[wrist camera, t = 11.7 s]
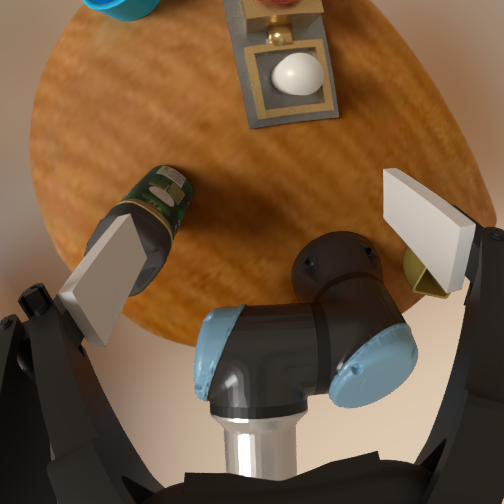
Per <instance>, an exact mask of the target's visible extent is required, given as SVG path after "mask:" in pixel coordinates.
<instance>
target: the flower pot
mask: <svg viewBox="0 0 504 504" xmlns="http://www.w3.org/2000/svg"><path fill="white" fill-rule="evenodd" d="M403 270H404V274H405V276H406V278H407V281H408V283H409V285H410V288H411V290H412V292H414V293H418V294H423V295H428V296H433V297H438V298H444V299H446V298H448V296H449V295H450V293H451V292H450V293H446V292H445V291H444V289H443V288H442V287H441V285H440V284H439V283H438V281H437V280H436V279H435V278H434V276H433V275H432V274H431V273H430V271H429V270H428V269H427V268H426V266H425V265H424V264H423V263H422V262H421V260H420V259H419V258H418V257H417V256H416V254H415V253H414V252H413V251H412V250H411V248H410V247H409V246H408V247H407V249H406V251H405V253H404V257H403Z"/></svg>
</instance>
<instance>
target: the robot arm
mask: <svg viewBox="0 0 504 504" xmlns="http://www.w3.org/2000/svg"><path fill="white" fill-rule="evenodd" d="M383 185H384V214H383V218H384V219H385V220H386V221H387V223H388V224H389V225H390V226H391V227H392V228H393V229H394V230H395V231H396V232H397V234H398V235H399V236H400V237H401V238H402V239H403V240H404V242H405V243H406V244H407V245H408V246H409V247H410V248H411V250H412V251H413V252H414V253H415V254H416V256H417V257H418V258H419V259H420V260H421V262H422V263H423V264H424V265H425V266H426V268H427V269H428V270H429V271H430V273H431V274H432V275H433V276H434V278H435V279H436V280H437V281H438V283H439V284H440V285H441V287H442V288H443V289H444V291H445V292H446V293H450V292H454V291H457V290H460V289H462V286H463V282H464V278H465V276H466V277H467V278H468V279H469V280H470V285H469V289H468V292H467V295H466V299H465V302H464V305H465V306H466V307H465V314H464V319H463V324H462V329H461V334H460V339H459V343H458V348H457V352H456V356H455V360H454V364H453V368H452V371H451V374H450V378H449V381H448V385H447V388H446V391H445V394H444V397H443V400H442V403H441V406H440V409H439V412H438V414H437V417H436V420H435V423H434V425H433V428H432V430H431V433H430V435H429V437H428V440H427V442H426V444H425V446H424V447H423V449H422V451H421V452H420V454H419V456H418V457H417V459H416V461H415V463H414V464H412V463H408V462H403V461H397V460H380V459H379V454H378V451H375V452H372V453H368V454H364V455H360V456H356V457H351V458H348V459H343V460H338V461H333V462H330V463H327V464H325V465H322V466H320V467H318V468H315V469H313V470H311V471H308V472H305V473H302V474H300V475H297V468H296V467H297V465H296V427H295V426H296V424H297V422H298V421H299V420H300V419H301V418H302V417H303V416H304V415H305V414H306V413H307V411H308V406H307V397H308V396H310V395H318V394H328V393H329V397H330V399H331V400H332V401H333V403H334V404H336V405H337V406H339V407H342V406H343V407H344V408H357V407H361V406H365V405H368V404H371V403H373V402H375V401H378V400H380V399H382V398H383V397H385V396H387V395H388V394H390V393H391V392H393V391H394V390H395V389H397V388H398V387H399V386H400V385H401V384H402V383H403V382H404V381H405V380H406V379H407V378H408V377H409V375H410V374H411V373H412V371H413V369H414V367H415V365H416V362H417V359H418V349H417V345H416V343H415V340H414V338H413V336H412V333H411V329H410V327H409V326H408V325H407V323H406V321H405V320H404V318H403V316H402V314H401V313H400V311H399V309H398V308H397V306H396V304H395V302H394V301H393V299H392V297H391V296H390V294H389V292H388V291H387V289H386V287H385V286H384V284H383V277H382V268H381V262H380V258H379V256H378V254H377V252H376V251H375V249H374V248H373V246H372V245H371V244H370V242H369V241H368V240H366V239H365V238H364V237H362V236H360V235H358V234H355V233H352V232H342V231H341V232H332V233H328V234H325V235H323V236H320V237H318V238H316V239H315V240H313V241H312V242H310V243H309V244H308V245H307V246H305V247H304V248H303V250H302V251H301V252H300V253H299V255H298V256H297V258H296V260H295V262H294V265H293V268H292V283H293V288H294V292H295V294H296V296H297V298H298V300H299V301H300V302H301V303H294V304H278V305H253V306H247V304H242V305H241V306H233V307H221V308H216V309H213V310H212V311H210V312H209V313H208V314H207V316H206V317H205V319H204V321H203V323H202V326H201V329H200V332H199V336H198V341H197V346H196V353H195V361H194V382H195V393H196V395H197V397H198V398H199V399H202V400H204V401H210V414H211V416H212V417H213V418H214V419H215V420H216V421H217V422H218V423H220V424H221V425H222V427H223V428H224V441H225V459H226V473H185V477H184V482H183V483H179V484H176V485H172V486H169V487H167V488H164V487H163V486H162V485H161V484H160V483H159V482H158V481H157V480H156V479H155V478H154V477H153V476H152V474H151V473H150V472H149V470H148V469H147V467H146V466H145V464H144V463H143V461H142V460H141V458H140V456H139V455H138V453H137V452H136V450H135V448H134V447H133V445H132V443H131V442H130V440H129V438H128V437H127V435H126V433H125V431H124V430H123V428H122V426H121V424H120V422H119V421H118V419H117V417H116V415H115V413H114V411H113V409H112V407H111V405H110V403H109V401H108V399H107V397H106V395H105V393H104V391H103V389H102V387H101V385H100V383H99V381H98V379H97V376H96V374H95V372H94V370H93V367H92V365H91V362H90V360H89V358H88V355H87V353H86V351H85V349H84V348H83V346H82V345H81V342H82V340H83V338H84V337H85V339H86V340H87V342H88V343H89V344H90V346H91V347H106V346H107V343H108V341H109V338H110V336H111V334H112V331H113V329H114V327H115V324H116V322H117V320H118V318H119V316H120V313H121V311H122V309H123V307H124V305H125V302H126V300H127V298H128V296H129V294H130V292H131V290H132V288H133V285H134V283H135V281H136V279H137V277H138V275H139V273H140V271H141V269H142V267H143V265H144V263H145V261H146V259H147V257H146V254H145V252H144V249H143V247H142V244H141V241H140V239H139V236H138V233H137V231H136V228H135V225H134V223H133V220H132V217H131V214H127V215H123V216H119V217H117V218H116V220H115V221H114V222H113V223H112V224H111V225H110V227H109V228H108V229H107V230H106V231H105V232H104V234H103V235H102V236H101V237H100V239H99V240H98V241H97V242H96V243H95V245H94V246H93V247H92V248H91V250H90V251H89V252H88V253H87V255H86V256H85V257H84V258H83V260H82V261H81V262H80V264H79V265H78V266H77V268H76V269H75V270H74V272H73V273H72V274H71V276H70V277H69V278H68V280H67V281H66V282H65V284H64V285H63V287H62V288H61V289H60V291H59V292H58V294H57V295H56V297H55V298H54V299H53V300H52V298H51V297H50V295H49V294H48V292H47V290H46V288H45V286H44V285H43V283H38V284H35V285H33V286H31V287H29V288H28V289H27V290H25V292H23V293H22V294H21V296H20V297H19V300H18V302H19V304H20V305H21V307H22V309H23V310H24V312H25V313H26V315H27V316H28V318H29V320H28V321H26V322H23V323H21V321H20V320H19V318H18V317H17V316H16V314H12V315H9V316H8V317H5V318H4V319H2V320H1V322H0V504H57V501H58V504H502V501H503V498H504V230H502V229H499V228H496V227H486V228H484V227H482V226H481V225H480V224H479V223H477V222H476V221H475V220H474V219H472V218H471V217H469V216H468V215H467V214H466V213H464V212H463V211H462V210H461V209H459V208H458V207H456V206H454V205H452V204H449V203H447V202H446V201H445V200H443V199H442V198H440V197H439V196H438V195H436V194H435V193H433V192H432V191H431V190H429V189H428V188H426V187H425V186H423V185H422V184H420V183H419V182H417V181H416V180H414V179H413V178H411V177H410V176H408V175H406V174H405V173H403V172H402V171H400V170H399V169H397V168H390V169H383ZM18 362H19V364H20V365H21V366H22V367H23V370H22V369H21V367H20V366H19V364H18ZM49 439H50V440H49ZM50 442H51V446H52V449H53V452H54V455H55V460H53V461H51V454H50Z"/></svg>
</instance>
